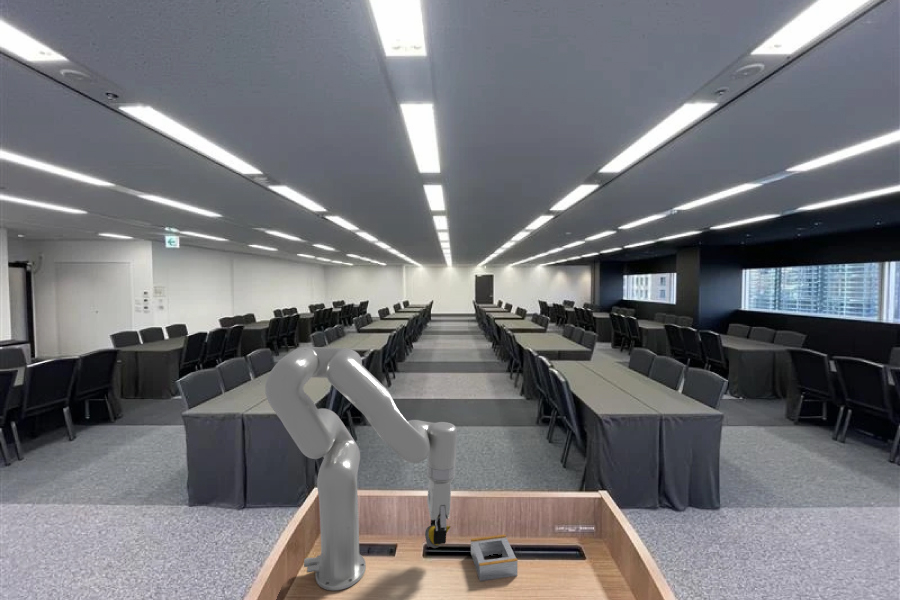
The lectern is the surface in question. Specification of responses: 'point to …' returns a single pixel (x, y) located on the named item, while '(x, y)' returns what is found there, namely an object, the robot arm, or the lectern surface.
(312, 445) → the robot arm
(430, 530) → the drill bit
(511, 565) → the block
